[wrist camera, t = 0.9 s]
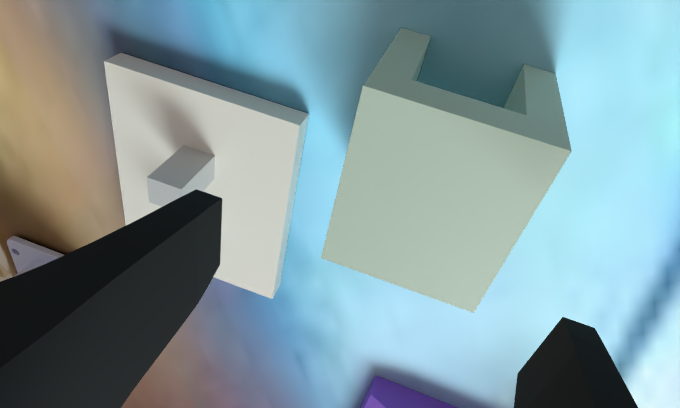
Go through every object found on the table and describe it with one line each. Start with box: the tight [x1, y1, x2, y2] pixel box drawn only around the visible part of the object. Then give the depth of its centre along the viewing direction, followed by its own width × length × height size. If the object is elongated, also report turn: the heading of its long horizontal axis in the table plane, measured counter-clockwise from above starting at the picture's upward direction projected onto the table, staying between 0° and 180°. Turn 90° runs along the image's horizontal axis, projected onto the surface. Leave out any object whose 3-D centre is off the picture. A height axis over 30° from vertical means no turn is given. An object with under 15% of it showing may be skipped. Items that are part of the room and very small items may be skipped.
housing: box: [321, 28, 571, 313], centre depth 15 cm, size 6×5×5 cm
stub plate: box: [104, 53, 309, 299], centre depth 20 cm, size 10×8×4 cm
